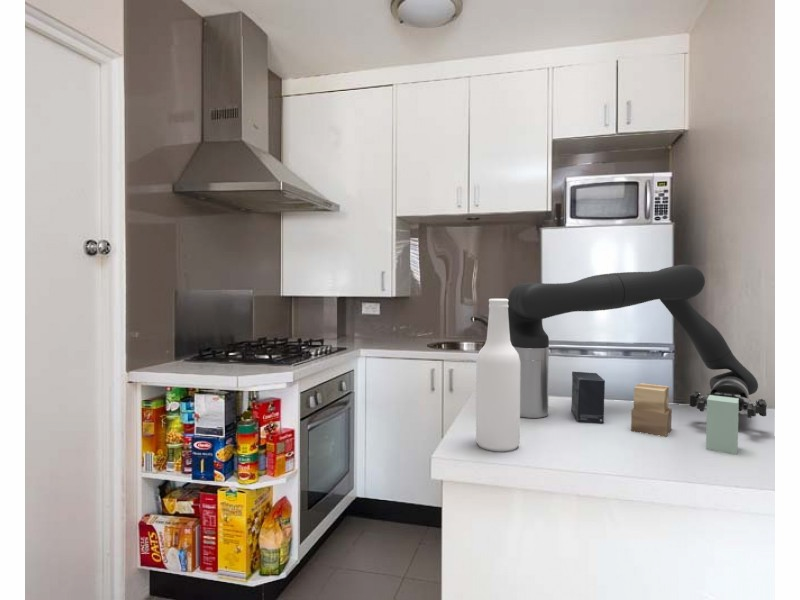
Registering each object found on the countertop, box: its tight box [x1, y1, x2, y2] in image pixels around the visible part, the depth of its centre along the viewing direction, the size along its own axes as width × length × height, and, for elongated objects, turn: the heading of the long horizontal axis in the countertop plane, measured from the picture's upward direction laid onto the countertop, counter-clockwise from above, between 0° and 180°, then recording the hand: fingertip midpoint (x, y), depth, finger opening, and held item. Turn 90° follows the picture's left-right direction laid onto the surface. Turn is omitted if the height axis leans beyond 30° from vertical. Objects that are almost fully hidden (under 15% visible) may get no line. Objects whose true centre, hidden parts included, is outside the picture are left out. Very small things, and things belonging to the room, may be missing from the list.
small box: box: [570, 371, 606, 424], centre depth 120 cm, size 11×6×10 cm, turn 168°
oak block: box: [633, 382, 670, 414], centre depth 109 cm, size 6×6×5 cm
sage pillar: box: [705, 395, 739, 455], centre depth 97 cm, size 5×5×10 cm
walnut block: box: [630, 407, 673, 438], centre depth 109 cm, size 7×7×5 cm
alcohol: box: [475, 298, 521, 453], centre depth 99 cm, size 9×9×30 cm
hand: (725, 409), depth 104 cm, fingers open, 8 cm apart
